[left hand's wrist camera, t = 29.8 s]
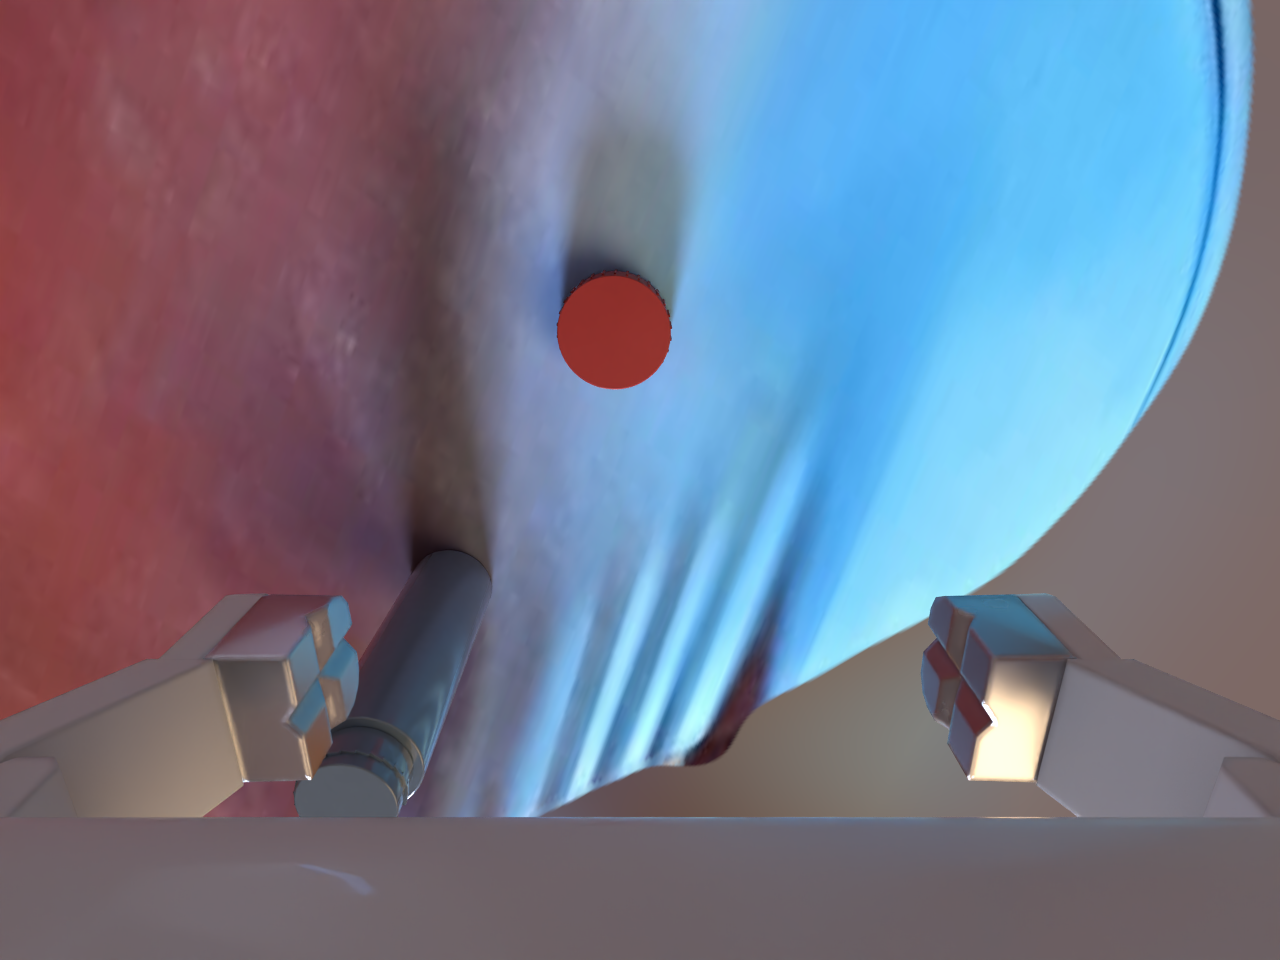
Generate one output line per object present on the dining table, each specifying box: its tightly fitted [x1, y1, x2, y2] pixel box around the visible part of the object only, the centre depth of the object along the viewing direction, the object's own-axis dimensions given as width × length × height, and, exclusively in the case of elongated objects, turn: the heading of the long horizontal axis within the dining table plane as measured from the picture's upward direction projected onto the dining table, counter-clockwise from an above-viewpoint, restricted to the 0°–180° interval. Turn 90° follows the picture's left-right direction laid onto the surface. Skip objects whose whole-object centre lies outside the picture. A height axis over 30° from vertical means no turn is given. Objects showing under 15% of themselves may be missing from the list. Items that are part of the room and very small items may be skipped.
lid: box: [557, 269, 672, 389], centre depth 35 cm, size 5×5×2 cm
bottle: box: [293, 550, 492, 817], centre depth 33 cm, size 4×4×16 cm
